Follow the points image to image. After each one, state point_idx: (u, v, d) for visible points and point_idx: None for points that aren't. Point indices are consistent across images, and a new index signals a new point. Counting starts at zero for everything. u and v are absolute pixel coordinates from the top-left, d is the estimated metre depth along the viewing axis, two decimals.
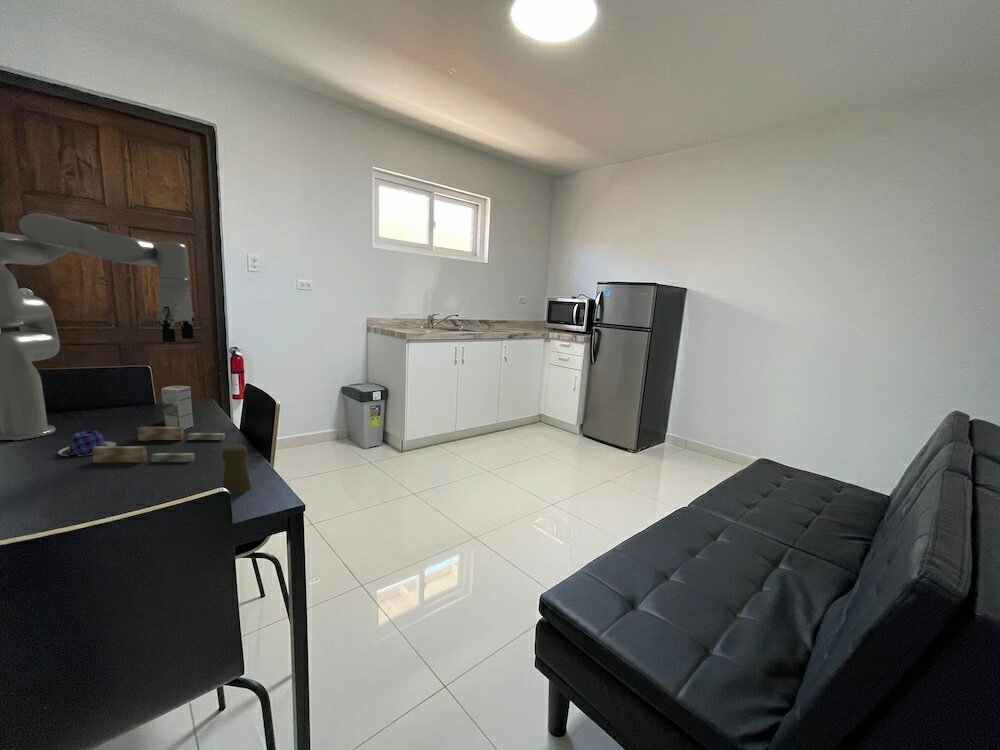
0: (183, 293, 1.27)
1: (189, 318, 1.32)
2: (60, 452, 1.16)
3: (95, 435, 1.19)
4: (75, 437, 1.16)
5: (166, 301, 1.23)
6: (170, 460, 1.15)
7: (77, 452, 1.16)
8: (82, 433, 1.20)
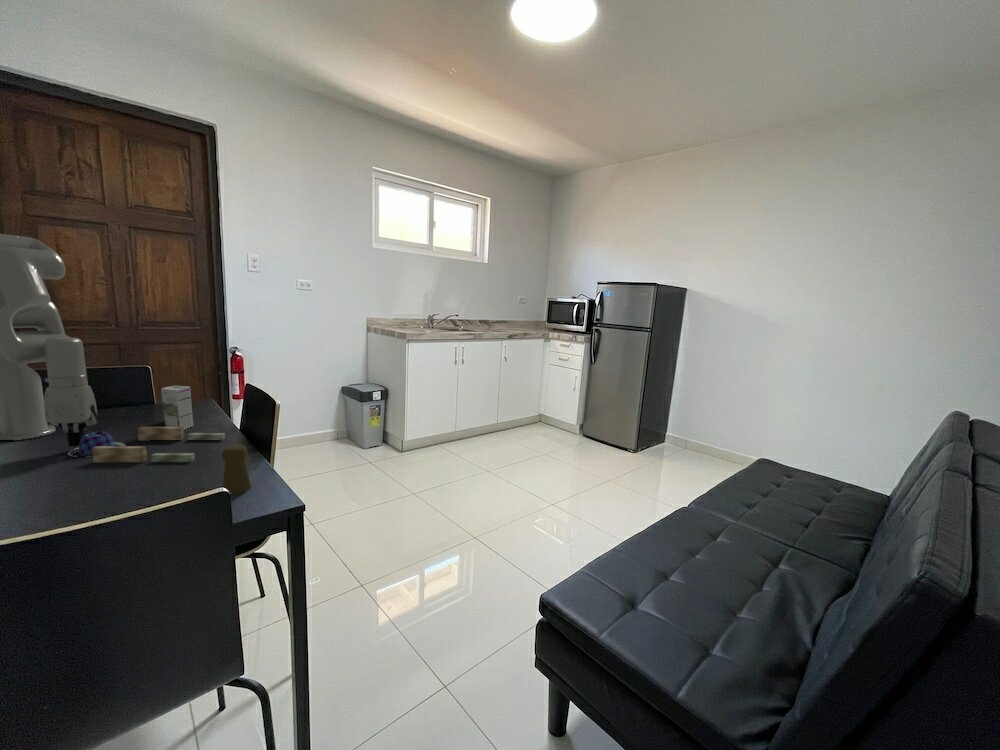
0: None
1: None
2: None
3: (105, 436, 1.19)
4: (85, 438, 1.17)
5: (91, 399, 1.18)
6: (170, 460, 1.15)
7: (88, 453, 1.17)
8: (91, 434, 1.20)
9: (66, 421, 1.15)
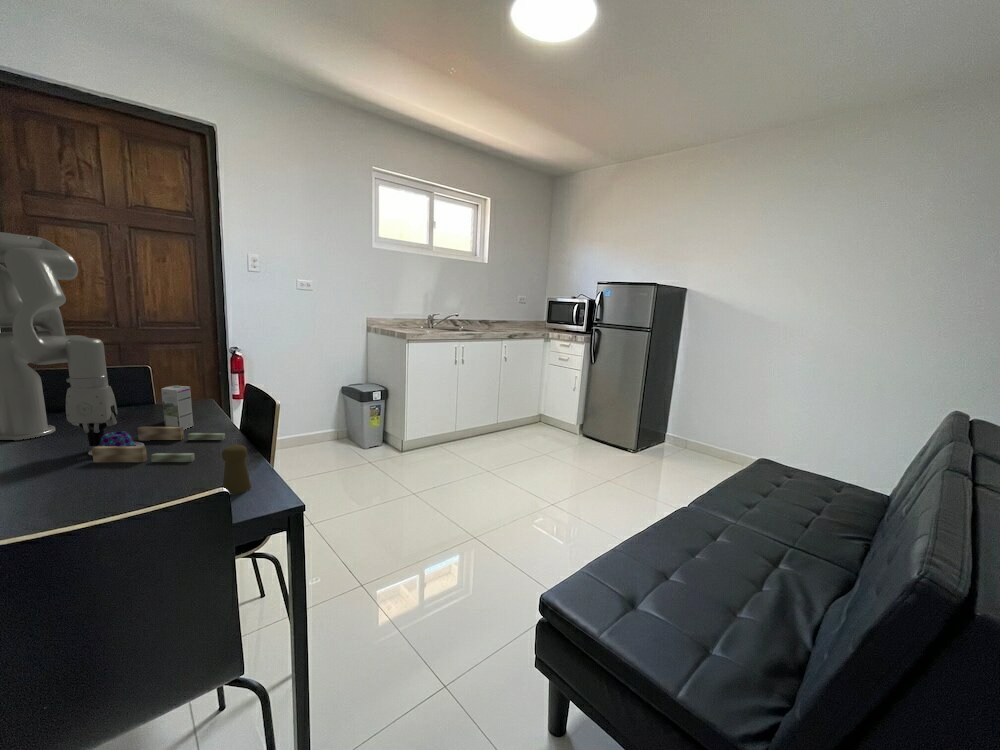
0: None
1: None
2: (90, 452, 1.17)
3: (125, 435, 1.20)
4: (105, 437, 1.17)
5: (111, 400, 1.19)
6: (170, 460, 1.15)
7: None
8: (111, 434, 1.21)
9: (87, 421, 1.16)
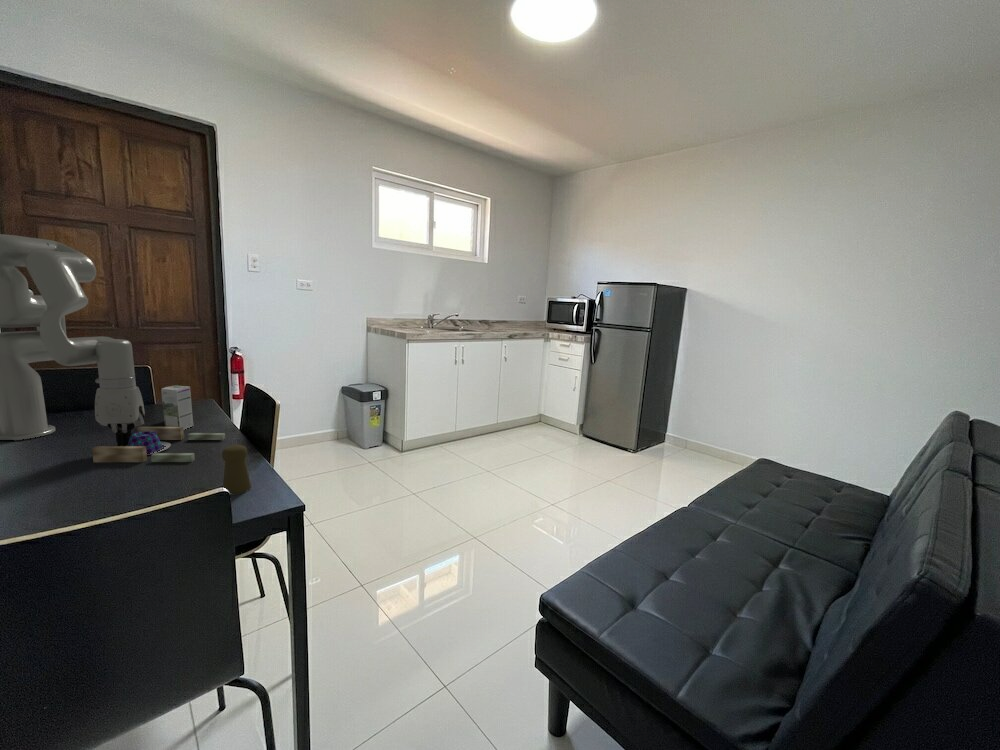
0: None
1: None
2: None
3: (152, 435, 1.21)
4: (133, 437, 1.19)
5: (139, 400, 1.20)
6: (170, 460, 1.15)
7: None
8: (139, 433, 1.22)
9: (116, 422, 1.17)
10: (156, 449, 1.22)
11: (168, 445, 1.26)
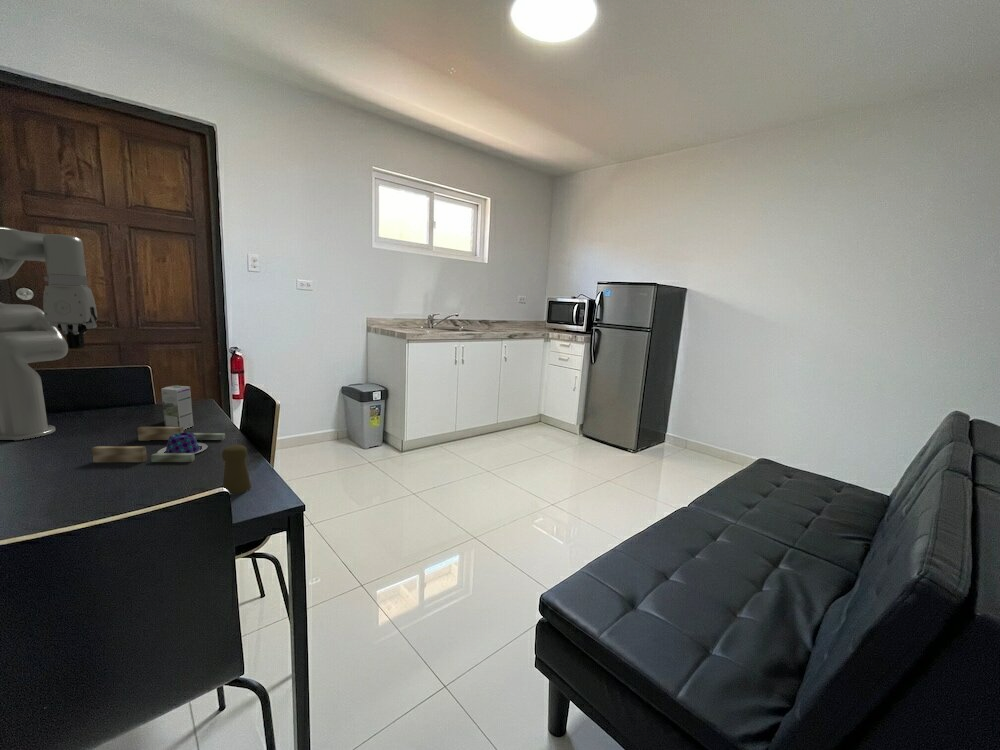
0: None
1: None
2: None
3: (191, 436, 1.22)
4: (173, 438, 1.20)
5: (91, 301, 1.16)
6: (170, 460, 1.15)
7: None
8: (177, 435, 1.23)
9: (66, 321, 1.13)
10: (194, 450, 1.23)
11: (205, 446, 1.27)
